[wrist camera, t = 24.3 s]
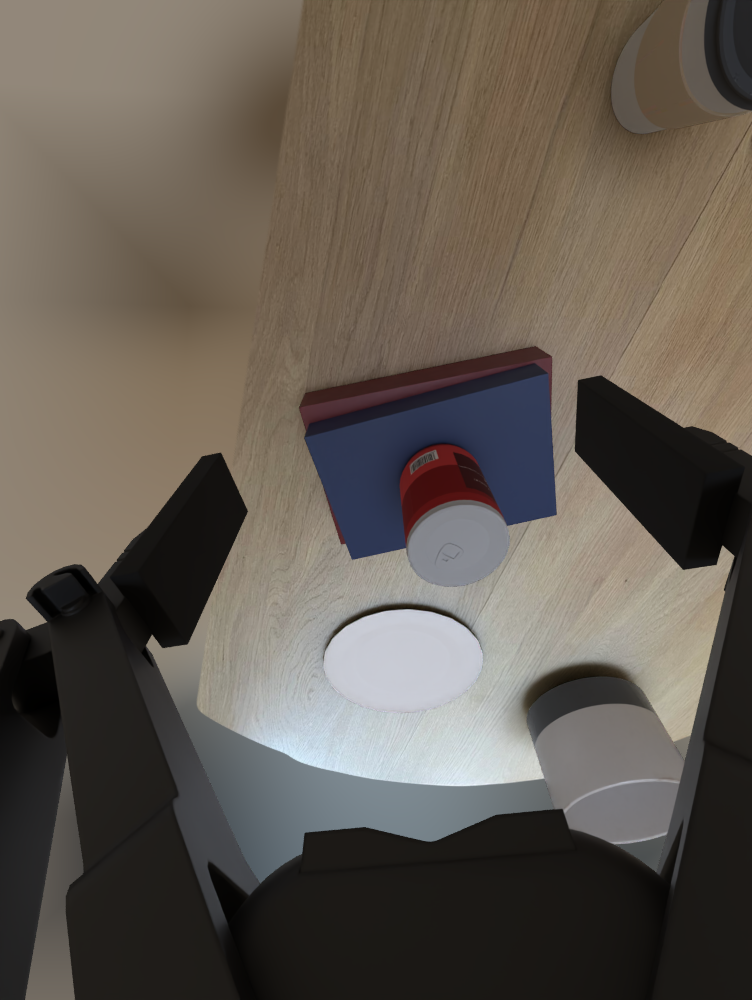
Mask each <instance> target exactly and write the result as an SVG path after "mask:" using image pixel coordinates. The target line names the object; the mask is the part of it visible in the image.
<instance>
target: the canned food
mask: <svg viewBox="0 0 752 1000" xmlns="http://www.w3.org/2000/svg"><path fill="white" fill-rule="evenodd" d="M400 495H401V505H402V514H403V524H404V534H405V543H406V550H407V556H408V560H409V562H410V565H411V567H412V569H413V570H414V571H415V573H416V574H417V575H418V576H420V577H421V578H422V579H424V580H425V581H427V582H429V583H432V584H435V585H439V586H445V587H457V586H464V585H468V584H471V583H474V582H477V581H479V580H481V579H483V578H485V577H486V576H488V575H489V574H491V573H492V572H493V571H494V570H495V569H496V568H497V567H498V566H499V565H500V564H501V563H502V561H503V560H504V558H505V556H506V554H507V552H508V548H509V542H510V536H509V531H508V528H507V524H506V522H505V520H504V517H503V515H502V513H501V511H500V509H499V506H498V504H497V502H496V500H495V498H494V496H493V494H492V492H491V490H490V488H489V486H488V484H487V482H486V480H485V477H484V475H483V473H482V471H481V469H480V467H479V465H478V463H477V461H476V459H475V458H474V457H473V456H472V455H471V454H470V453H469V452H467V451H466V450H464V449H462V448H460V447H458V446H455V445H450V444H437V445H432V446H429V447H426V448H424V449H423V450H421V451H419V452H418V453H416V454H415V455H414V456H413V457H412V458H411V459H410V460H409V462H408V463H407V465H406V467H405V468H404V470H403V472H402V475H401V478H400Z"/></svg>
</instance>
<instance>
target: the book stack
mask: <svg viewBox="0 0 752 1000" xmlns="http://www.w3.org/2000/svg"><path fill="white" fill-rule="evenodd" d="M551 392H552V356H550V355H549V354H547V353H545V352H544V351H542V350H541V349H539V348H538V347H536V346H535V347H530V348H525V349H520V350H515V351H510V352H505V353H500V354H496V355H491V356H486V357H481V358H476V359H471V360H466V361H461V362H456V363H451V364H446V365H442V366H437V367H432V368H427V369H422V370H417V371H412V372H407V373H402V374H397V375H392V376H387V377H383V378H378V379H373V380H368V381H363V382H358V383H353V384H348V385H343V386H338V387H333V388H329V389H324V390H319V391H314V392H309V393H305V395H304V397H303V400H302V402H301V404H300V406H299V409H300V413H301V416H302V419H303V422H304V426H305V429H306V434H305V437H304V439H305V441H306V444H307V446H308V449H309V451H310V454H311V456H312V459H313V461H314V464H315V467H316V469H317V472H318V474H319V477H320V479H321V482H322V484H323V487H324V491H325V494H326V497H327V500H328V504H329V507H330V510H331V513H332V517H333V520H334V523H335V526H336V530H337V533H338V536H339V539H340V542H341V544H346V545H347V548H348V550H349V553H350V556H351V558H352V560H353V559H358V558H363V557H367V556H372V555H376V554H381V553H385V552H390V551H394V550H399V549H404V548H406V543H405V534H404V524H403V514H402V505H401V495H400V478H401V475H402V472H403V470H404V468H405V467H406V465H407V463H408V462H409V460H410V459H411V458H412V457H413V456H414V455H415V454H416V453H418V452H419V451H421V450H423V449H424V448H426V447H429V446H432V445H437V444H450V445H455V446H458V447H460V448H462V449H464V450H466V451H467V452H469V453H470V454H471V455H472V456H473V457H474V458H475V459H476V461H477V463H478V465H479V467H480V469H481V471H482V473H483V475H484V477H485V480H486V482H487V484H488V486H489V488H490V490H491V492H492V494H493V496H494V498H495V500H496V502H497V504H498V506H499V509H500V511H501V513H502V515H503V517H504V520H505V522H506V524H507V526H508V525H513V524H518V523H522V522H527V521H531V520H536V519H540V518H545V517H550V516H554V515H557V511H556V494H555V477H554V460H553V443H552V426H551Z"/></svg>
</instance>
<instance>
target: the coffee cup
mask: <svg viewBox="0 0 752 1000" xmlns="http://www.w3.org/2000/svg"><path fill="white" fill-rule="evenodd" d="M611 100H612V107H613V111H614V113H615V116H616V118H617V120H618V121H619V123H620V124H621V125H622V126H623V127H624V128H625V129H627V130H628V131H630V132H633V133H637V134H647V133H652V132H656V131H661V130H665V129H679V128H684V127H689V126H693V125H698V124H703V123H707V122H712V121H716V120H721V119H726V118H730V117H735V116H740V115H744V114H747V113H750V112H752V0H664V1H663V2H662V3H661V5H660V6H659V7H658V8H657V9H656V10H655V11H654V12H653V13H652V14H651V15H650V16H649V17H648V18H647V19H646V20H645V21H644V23H643V24H642V25H641V26H640V27H639V28H638V29H637V30H636V31H635V32H634V33H633V35H632V36H631V37H630V39H629V40H628V42H627V43H626V45H625V47H624V48H623V50H622V52H621V54H620V56H619V59H618V61H617V64H616V67H615V70H614V74H613V79H612V87H611Z"/></svg>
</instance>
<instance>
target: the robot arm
mask: <svg viewBox="0 0 752 1000" xmlns="http://www.w3.org/2000/svg"><path fill="white" fill-rule="evenodd" d="M575 452H576V453H577V454H578V455H579V456H580V457H581V458H582V459H583V461H584V462H585V463H586V464H587V465H588V466H589V467H590V468H591V469H592V470H593V472H594V473H595V474H596V475H597V476H598V477H599V478H600V479H601V480H602V481H603V482H604V484H605V485H606V486H607V487H608V488H609V489H610V490H611V491H612V492H613V493H614V495H615V496H616V497H617V498H618V499H619V500H620V501H621V502H622V503H623V504H624V505H625V507H626V508H627V509H628V510H629V511H630V512H631V513H632V514H633V515H634V516H635V518H636V519H637V520H638V521H639V522H640V523H641V524H642V525H643V526H644V527H645V529H646V530H647V531H648V532H649V533H650V534H651V535H652V536H653V537H654V538H655V539H656V541H657V542H658V543H659V544H660V545H661V546H662V547H663V548H664V549H665V550H666V552H667V553H668V554H669V555H670V556H671V557H672V558H673V559H674V560H675V561H676V562H677V564H678V565H679V566H680V567H681V568H682V569H683V570H685V569H692V568H699V567H705V566H712V565H717V561H718V558H719V554H720V551H721V548H722V545H723V546H724V547H725V548H726V549H727V550H729V551H730V552H731V553H732V554H733V555H734V560H733V563H732V566H731V569H730V572H729V575H728V578H727V581H726V585H725V588H724V591H725V595H724V599H723V603H722V607H721V611H720V616H719V620H718V624H717V628H716V632H715V637H714V641H713V645H712V649H711V653H710V658H709V662H708V666H707V670H706V674H705V679H704V683H703V687H702V691H701V695H700V700H699V704H698V708H697V712H696V716H695V721H694V725H693V729H692V733H691V738H690V742H689V746H688V750H687V754H686V758H685V763H684V767H683V771H682V775H681V779H680V784H679V788H678V792H677V796H676V800H675V805H674V809H673V813H672V817H671V821H670V825H669V829H668V832H667V836H666V839H665V843H664V846H663V849H662V853H661V857H660V860H659V864H658V868H657V872H655V871H654V870H652V869H651V868H650V867H648V866H647V865H646V864H644V863H643V862H642V861H640V860H639V859H637V858H636V857H634V856H633V855H631V854H629V853H628V852H626V851H625V850H623V849H621V848H620V847H618V846H616V845H614V844H612V843H609V842H607V841H605V840H603V839H601V838H599V837H596V836H593V835H590V834H587V833H585V832H582V831H577V830H573V829H569V826H568V823H567V820H566V817H565V814H564V811H563V809H553V810H543V811H533V812H522V813H511V814H501V815H495V816H492V817H490V818H488V819H486V820H483V821H481V822H479V823H476V824H474V825H472V826H469V827H467V828H465V829H462V830H461V831H458V832H455V833H453V834H451V835H449V836H446V837H444V838H442V839H439V840H437V841H433V842H426V841H421V840H417V839H413V838H408V837H404V836H400V835H395V834H391V833H387V832H383V831H379V830H375V829H370V828H366V827H362V828H351V829H340V830H329V831H319V832H309V833H305V835H304V844H303V852H302V854H301V855H299V856H297V857H295V858H293V859H292V860H290V861H288V862H287V863H285V864H284V865H282V866H281V867H279V868H278V869H277V870H275V871H274V872H273V873H272V874H270V875H269V876H268V877H267V878H266V879H265V880H264V881H263V882H262V883H261V884H260V883H259V881H258V879H257V878H256V876H255V875H254V873H253V872H252V870H251V868H250V867H249V865H248V864H247V862H246V860H245V858H244V856H243V854H242V852H241V849H240V847H239V845H238V843H237V841H236V838H235V836H234V834H233V832H232V829H231V827H230V825H229V823H228V821H227V819H226V816H225V814H224V812H223V810H222V807H221V805H220V803H219V801H218V799H217V796H216V794H215V792H214V790H213V788H212V785H211V783H210V781H209V779H208V777H207V774H206V772H205V770H204V768H203V766H202V763H201V761H200V759H199V757H198V755H197V752H196V750H195V748H194V746H193V743H192V741H191V739H190V737H189V735H188V732H187V730H186V728H185V726H184V724H183V722H182V720H181V717H180V715H179V713H178V710H177V708H176V706H175V704H174V701H173V699H172V697H171V695H170V693H169V690H168V688H167V686H166V684H165V682H164V679H163V677H162V675H161V673H160V671H159V668H158V666H157V664H156V662H155V660H154V657H153V655H152V653H151V652H150V651H149V650H148V648H147V647H146V644H147V643H148V641H149V639H150V637H151V635H153V636H154V637H155V639H156V640H157V641H158V643H159V644H160V645H161V647H162V648H167V647H173V646H180V645H187V644H188V642H189V640H190V638H191V636H192V634H193V632H194V629H195V627H196V625H197V623H198V620H199V618H200V616H201V614H202V611H203V609H204V607H205V605H206V603H207V601H208V598H209V596H210V594H211V592H212V590H213V587H214V585H215V583H216V581H217V579H218V576H219V574H220V572H221V570H222V568H223V565H224V563H225V561H226V559H227V557H228V554H229V552H230V550H231V548H232V545H233V543H234V541H235V539H236V537H237V534H238V532H239V530H240V528H241V526H242V523H243V521H244V519H245V517H246V515H247V512H248V511H247V508H246V506H245V504H244V502H243V500H242V497H241V495H240V493H239V491H238V489H237V486H236V484H235V482H234V480H233V478H232V476H231V473H230V471H229V469H228V467H227V465H226V463H225V460H224V458H223V456H222V454H221V453H217V454H212V455H207V456H202V457H201V459H200V460H199V461H198V463H197V464H196V465H195V466H194V468H193V469H192V470H191V472H190V473H189V474H188V476H187V477H186V478H185V479H184V481H183V482H182V483H181V485H180V486H179V488H178V489H177V490H176V491H175V492H174V494H173V495H172V497H171V498H170V499H169V500H168V502H167V503H166V504H165V505H164V507H163V508H162V509H161V511H160V512H159V513H158V515H157V516H156V517H155V519H154V520H153V521H152V522H151V524H150V525H149V526H148V528H147V529H145V530H144V531H143V532H142V533H140V534H139V535H138V536H137V537H135V538H134V539H133V540H132V541H131V542H130V544H129V545H128V546H127V547H126V549H125V550H124V553H122V554H121V555H120V556H119V558H118V559H117V562H115V563H114V564H113V565H112V567H111V568H110V569H109V570H108V572H107V573H106V574H105V576H104V577H103V578H102V579H101V581H100V582H99V583H98V584H97V583H96V581H95V580H94V579H93V578H92V576H91V575H90V574H89V572H88V571H87V570H86V569H85V567H83V566H82V565H76V564H74V565H70V566H66V567H63V568H61V569H58V570H56V571H54V572H52V573H50V574H49V575H47V576H45V577H44V578H43V579H41V580H40V581H39V582H37V583H36V584H35V585H34V586H33V587H32V588H31V590H30V591H29V592H28V594H27V597H26V599H27V600H28V601H29V602H30V603H31V604H32V606H33V607H34V608H35V609H36V610H37V611H38V612H39V613H40V614H41V615H42V616H43V617H44V618H45V620H46V621H47V623H44V624H41V625H39V626H36V627H33V628H31V629H28V630H25V629H24V628H23V627H22V626H21V625H20V624H19V623H18V622H17V621H15V620H14V619H7V620H3V621H0V1000H25V996H26V989H27V984H28V978H29V972H30V966H31V960H32V955H33V949H34V943H35V938H36V931H37V926H38V920H39V914H40V908H41V902H42V897H43V891H44V885H45V879H46V873H47V868H48V862H49V856H50V850H51V844H52V838H53V833H54V827H55V821H56V815H57V809H58V803H59V797H60V792H61V786H62V780H63V774H64V768H65V763H66V757H67V756H68V763H69V770H70V776H71V783H72V790H73V797H74V804H75V810H76V816H77V824H78V831H79V837H80V844H81V851H82V857H83V864H84V865H83V866H84V873H83V875H82V876H80V877H79V878H78V879H77V880H76V881H74V882H73V883H72V884H71V885H70V887H69V890H68V892H67V895H66V919H67V927H68V936H69V947H70V956H71V966H72V975H73V983H74V994H75V1000H752V456H751V455H749V454H748V453H746V452H744V451H743V450H738V447H736V446H734V445H733V444H731V443H727V442H726V440H724V439H722V438H721V437H719V436H717V435H716V434H714V433H712V432H709V431H706V430H702V429H699V428H696V427H692V426H691V427H686V428H683V427H681V426H680V425H678V424H677V423H675V422H674V421H672V420H670V419H669V418H667V417H666V416H664V415H663V414H661V413H659V412H658V411H656V410H655V409H653V408H651V407H650V406H648V405H647V404H645V403H644V402H642V401H640V400H639V399H637V398H636V397H634V396H633V395H631V394H629V393H628V392H626V391H625V390H623V389H622V388H620V387H618V386H617V385H615V384H614V383H612V382H611V381H609V380H607V379H606V378H604V377H603V376H596V377H591V378H586V379H581V380H578V392H577V414H576V436H575Z"/></svg>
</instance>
